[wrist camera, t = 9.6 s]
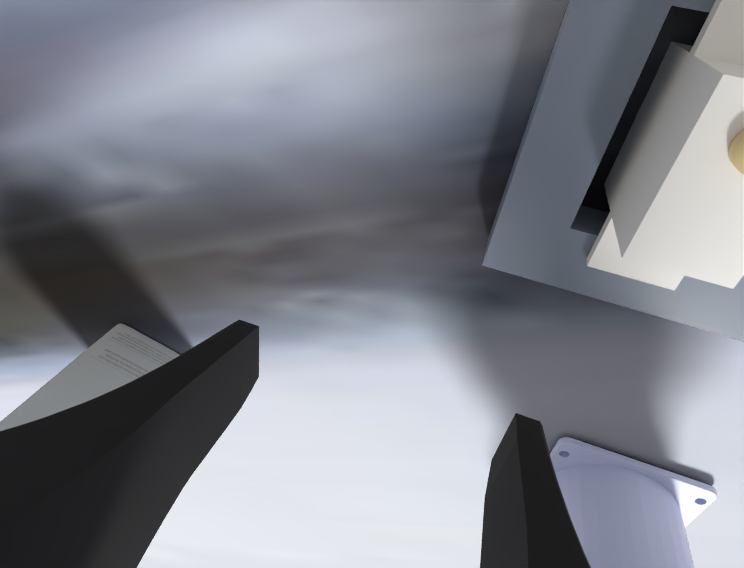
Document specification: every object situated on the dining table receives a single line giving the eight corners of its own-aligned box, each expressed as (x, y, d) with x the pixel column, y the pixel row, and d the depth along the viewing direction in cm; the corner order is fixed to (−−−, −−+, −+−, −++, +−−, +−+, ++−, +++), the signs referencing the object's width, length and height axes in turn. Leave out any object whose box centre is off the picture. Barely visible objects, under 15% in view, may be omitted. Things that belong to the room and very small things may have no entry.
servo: (658, 249, 19) (696, 349, 14) (582, 229, 19) (593, 319, 14) (817, -14, 14) (968, -2, 9) (706, -33, 14) (790, -32, 9)
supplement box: (118, 318, 32) (-76, 477, 22) (213, 370, 32) (61, 553, 22) (114, 380, 37) (-49, 535, 27) (197, 425, 37) (65, 598, 27)
